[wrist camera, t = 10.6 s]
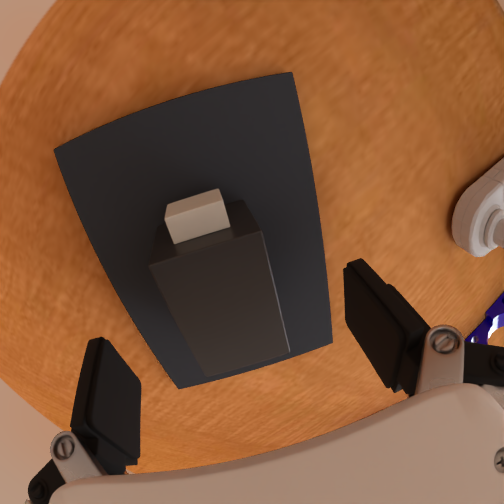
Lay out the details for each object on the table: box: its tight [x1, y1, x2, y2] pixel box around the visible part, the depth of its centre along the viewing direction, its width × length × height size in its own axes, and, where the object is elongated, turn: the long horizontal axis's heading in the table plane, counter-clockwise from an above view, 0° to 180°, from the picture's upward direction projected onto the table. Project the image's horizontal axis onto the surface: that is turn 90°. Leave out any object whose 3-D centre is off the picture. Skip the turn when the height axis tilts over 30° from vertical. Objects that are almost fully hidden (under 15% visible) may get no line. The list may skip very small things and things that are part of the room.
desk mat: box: [54, 72, 333, 389], centre depth 16 cm, size 18×12×1 cm, turn 13°
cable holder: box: [465, 292, 504, 345], centre depth 26 cm, size 8×4×4 cm, turn 129°
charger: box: [149, 189, 290, 377], centre depth 14 cm, size 8×4×4 cm, turn 14°
